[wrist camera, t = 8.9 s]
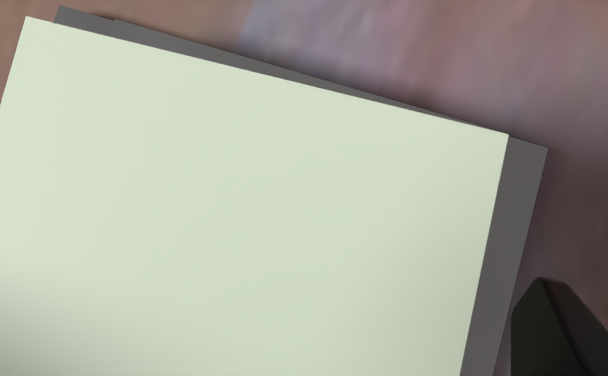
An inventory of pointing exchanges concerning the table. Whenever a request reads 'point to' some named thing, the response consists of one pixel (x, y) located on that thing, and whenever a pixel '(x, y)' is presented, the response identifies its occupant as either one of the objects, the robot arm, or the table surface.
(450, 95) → the table surface
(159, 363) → the sage block
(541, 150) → the grey rectangular tray
